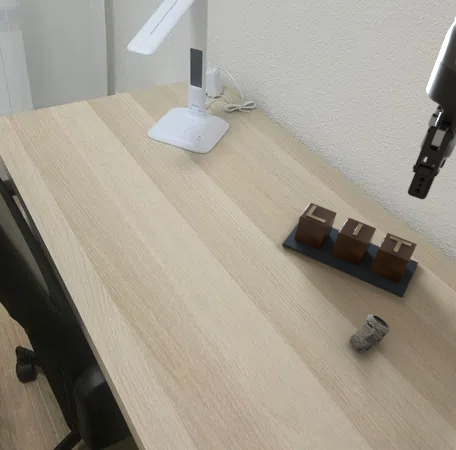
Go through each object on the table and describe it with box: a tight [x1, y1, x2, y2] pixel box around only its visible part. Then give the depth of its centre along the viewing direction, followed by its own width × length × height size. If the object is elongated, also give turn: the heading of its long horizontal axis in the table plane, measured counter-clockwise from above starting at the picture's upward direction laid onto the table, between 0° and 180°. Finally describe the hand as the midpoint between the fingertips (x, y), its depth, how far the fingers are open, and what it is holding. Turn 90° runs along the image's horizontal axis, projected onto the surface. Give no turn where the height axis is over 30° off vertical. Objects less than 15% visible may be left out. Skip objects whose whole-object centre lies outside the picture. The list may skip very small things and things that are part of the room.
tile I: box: [332, 217, 377, 266], centre depth 89 cm, size 5×5×5 cm
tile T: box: [370, 232, 418, 284], centre depth 87 cm, size 5×5×5 cm
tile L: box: [294, 202, 337, 250], centre depth 92 cm, size 5×5×5 cm
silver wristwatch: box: [348, 313, 391, 353], centre depth 76 cm, size 4×6×5 cm, turn 120°
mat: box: [281, 223, 419, 298], centre depth 91 cm, size 20×9×1 cm, turn 56°
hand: (425, 180), depth 71 cm, fingers open, 8 cm apart
